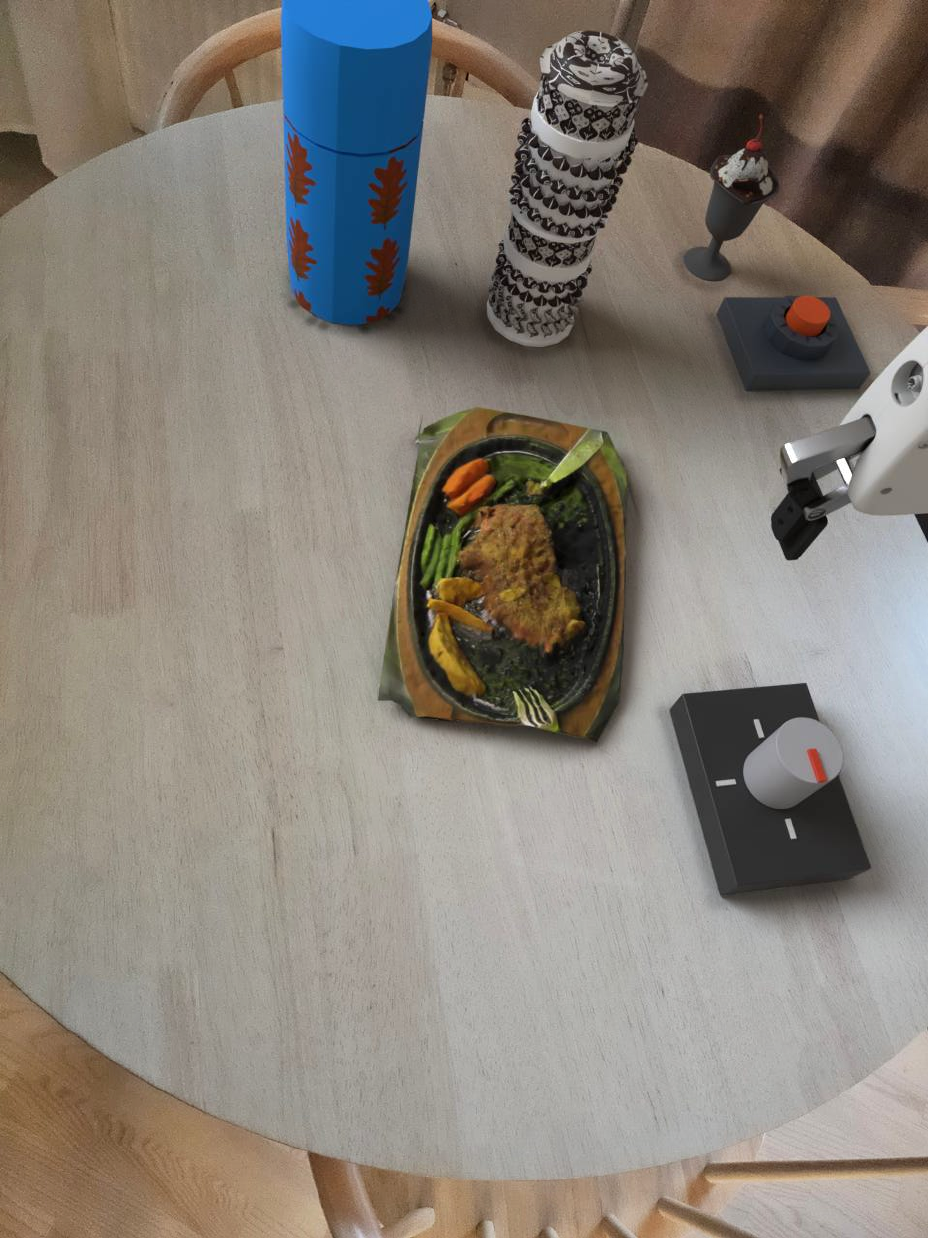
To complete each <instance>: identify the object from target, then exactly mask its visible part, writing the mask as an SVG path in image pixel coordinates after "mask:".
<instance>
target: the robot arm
mask: <svg viewBox="0 0 928 1238" xmlns="http://www.w3.org/2000/svg"><path fill="white" fill-rule="evenodd" d="M856 457H858V458H857V459H856V462H855V464H853V462H852V459H854V458H856ZM779 459H780V460H779V464H780V468H779V473H780V475H781V477H782V479H783V482H784V484H785V487H786V489H787V494H786V495H785V497H783V499H782V500H781V502H780V503H779V504H778V506H777V507H776V508H775V509H774V511H773V512H772V513H771V516H770V529H771V531H772V533H773V536H774V538H775V540H776V541H778V543H779V546H780V548H781V551H782V554H783V556H784V558H785V561H788V562H789V561H798V560H799V559H800V558H801V557H802V556H803V555H804V553H805V552H806V551H807V550H808V549H809V547H810V546H811V545H812V544H814V541H816V539H817V538H818V537H819V536H820V534H821V533H822V532H823V531H824V530H825V528H827V526H828V525H829V519H828V516H827V515H830V514H831V513H833V512H835V511H838V510H840V509H842V508H844V507H845V506H848V505H849V504H852V507H853V508H854V510H856V511H857V512H859V513H862V514H865V515H870V516H882V517H883V516H904V515H914V517H915V519H916V522H917V523H918V525H919V528H920V530H921V532H922V534H923V536H924V538H925V540H926V543H928V325H927V326H926V327H925V328H923V330H921V331H920V332H919V334H918V335H916V336H915V337H914V338H913V339H912V340H911V341H910V343H908V344H907V345H906V346H905V347H904V348H903V349H902V350H901V351H900V353H898V355H897V356H895V358H894V359H893V360H892V361H891V362H890V363H889V364H888V365H887V366H886V367H885V369H883V370H882V372H881V373H880V374H879V375H878V376H877V377H876V378H875V380H874V381H873V382H872V383H871V384H870V385H869V386H868V388H867V389H866V390H865V391H864V392H863V394H862V395H861V396H860V398H858V400H857V401H856V402H855V404H854V405H853V406H852V407H851V409H849V411H848V412H847V414H846V415H845V416H844V418H843V419H842V421H841V422H840V423H839V425H838V426H835V427H832V428H829V429H825V430H823V431H820V432H817V433H813V434H811V435H808V436H805V437H802V438H799V439H796V440H793V441H790V442H788V443H785V444H784V445H783V446H781V448H780V449H779ZM837 470H838V472H839V474H840V477H841V479H842V481H843V483H844V484H843V485H841V486H839V487H837V488H835V489H833V490H831V491H830V492H828V493H826V494H824V493H823V492H822V489H821V487H820V485H819V482H818V480H820V479H822V478H824V477H826V476H828V475H829V474H831V473H833V472H835V471H837ZM823 494H824V495H823Z"/></svg>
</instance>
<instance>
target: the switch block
mask: <svg viewBox="0 0 928 1238" xmlns="http://www.w3.org/2000/svg"><path fill="white" fill-rule="evenodd" d="M801 296H802V295H785V296H773V297H771V296H770V297H769V296H767V297H766V296H761V297H760V296H752V297H751V296H750V297H749V296H745V297H744V296H743V297H742V296H733V297H731V296H730V297H729V296H727V297H726V296H725V297H723V299H722V302H721V304H720V306H719V308H718V310H717V311H716V317H717V320H718V322H719V325H720V327H721V330H722V332H723V335H724V338H725V341H726V344H727V346H728V349H729V352H730V354H731V356H732V359H733V362H734V365H735V367H736V371H737V373H738V375H739V378H740V381H741V383H742V386H743V388H744V391H745V392H765V391H766V392H767V391H769V392H770V391H771V392H772V391H811V390H813V391H815V390H855V389H856V390H858V389H860V388H862V386H863V385H864V383H865V382H866V380H868V378H869V376H870V375H871V374H872V373H871V371H870V368H869V366H868V364H867V362H866V360H865V357H864V355H863V353H862V351H861V349H860V347H859V344H858V343H857V340H856V337H855V336H854V334H853V331H852V329H851V328H850V327H851V326H850V325H849V322H848V320H847V318H846V316H845V314H844V312H843V309H842V308H841V305H840V303H839V300H838V299H837V297H836V296H820V297H819V296H814V297H815V298H817V299H819V300H821V301H822V302H824V303H825V304H826V305H827V306H828V308H829V310H830V319H829V320H828V322H827V323H826V325H825V326H824V328H823V330H822V331H821V333H820V334H819V335H817V336H815V337H806V336H804V335H801V334H798V333H796V332H795V331H793V330H792V329H791V328H790V327H789V326H788V325H787V323H786V315H787V313H788V311H789V309H790V308H791V306H792V304H793V302H794V301H795V300H796V299H797V298H798V297H801Z"/></svg>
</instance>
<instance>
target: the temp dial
mask: <svg viewBox="0 0 928 1238" xmlns="http://www.w3.org/2000/svg"><path fill="white" fill-rule="evenodd" d="M843 751H844V750H843V747H842V745H841V743H840V740H839V739H838V737H837V736H836V734H835V733H834V732H833V731H832V730H831V729H830V728H829V727H828V726H826V725H825V724H824V723H822V722H821V721H820V722H818V721H816V720H814V719H810V718H803V717H802V718H794V719H791V720H789V721H787V722H786V723H784V724H783V725H782V726H781V727H780V728H778V729H777V730H776V731H775V732H774V733H773V734H772V735H771V736H769V737H768V738H767V739H766V740H765V741H764V742H763V743H761V744H760V745H759V746H758V747H757V748H756V749H755V750H754V751H752V752H751V753H750V754H749V755H748V757H747V758H746V760H745V763H744V768H743V775H744V780H745V783H746V786H747V788H748V789H749V791H750V792H751V794H752V795H753V796H754V797H755V798H756V799H757V800H758V801H760V802H761V803H763V804H764V805H766V806H768V807H771V808H775V809H787V808H791V807H793V806H795V805H797V804H798V803H799V802H801V801H802V800H804V799H805V798H807V797H808V796H810V795H811V794H812V793H814V792H815V791H817V790H818V789H820V788H821V787H823V786H824V785H825V784H827V783H828V782H830V781H831V780H833V779H834V778H835V777H836V776H837V775H838V774H839V775H840V772H841V771H842V769H843V764H844V752H843Z"/></svg>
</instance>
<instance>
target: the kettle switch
mask: <svg viewBox="0 0 928 1238" xmlns="http://www.w3.org/2000/svg"><path fill="white" fill-rule="evenodd" d="M800 296H801V297H798V298H797V299H796V300H795V301H794V302H793V304H792V306H791V308H790V309H789V311H788V313H787V315H786V323H787V325H788V326H789V327H790V328H791V329H792V330H793V331H795V332H796V333H798V334H801V335H804V336H806V337H815V336H817V335H819V334H820V333H821V331H822V330H823V328H824V326H825V325H826V323H827V322H828V320H829V319H830V310H829V308H828V306H827V305H826V304H825V303H824V302H822V301H821V300H819V299H817V298H815V297H816V296H811V295H800Z"/></svg>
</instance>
